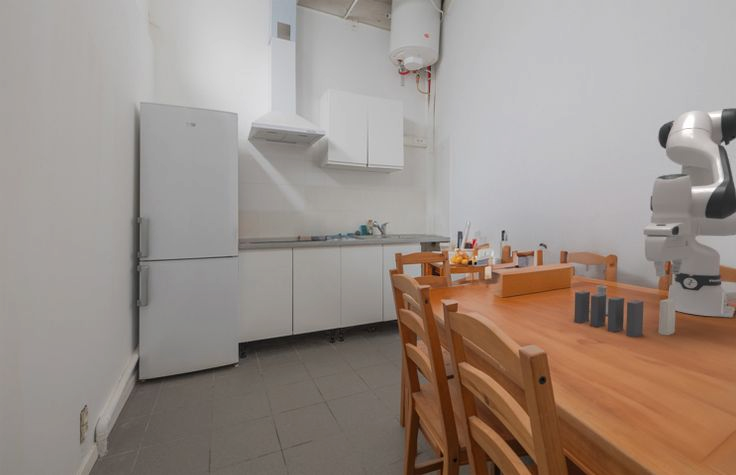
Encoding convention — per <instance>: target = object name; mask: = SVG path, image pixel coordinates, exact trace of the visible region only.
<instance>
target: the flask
mask: <svg viewBox="0 0 736 475" xmlns="http://www.w3.org/2000/svg"><path fill="white" fill-rule="evenodd" d="M596 289H597V291H596V294H604V295H606V316H608V299H609V298H608V297H607V289H608V287H607V286H606V285H596ZM589 313H591V307H589Z"/></svg>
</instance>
